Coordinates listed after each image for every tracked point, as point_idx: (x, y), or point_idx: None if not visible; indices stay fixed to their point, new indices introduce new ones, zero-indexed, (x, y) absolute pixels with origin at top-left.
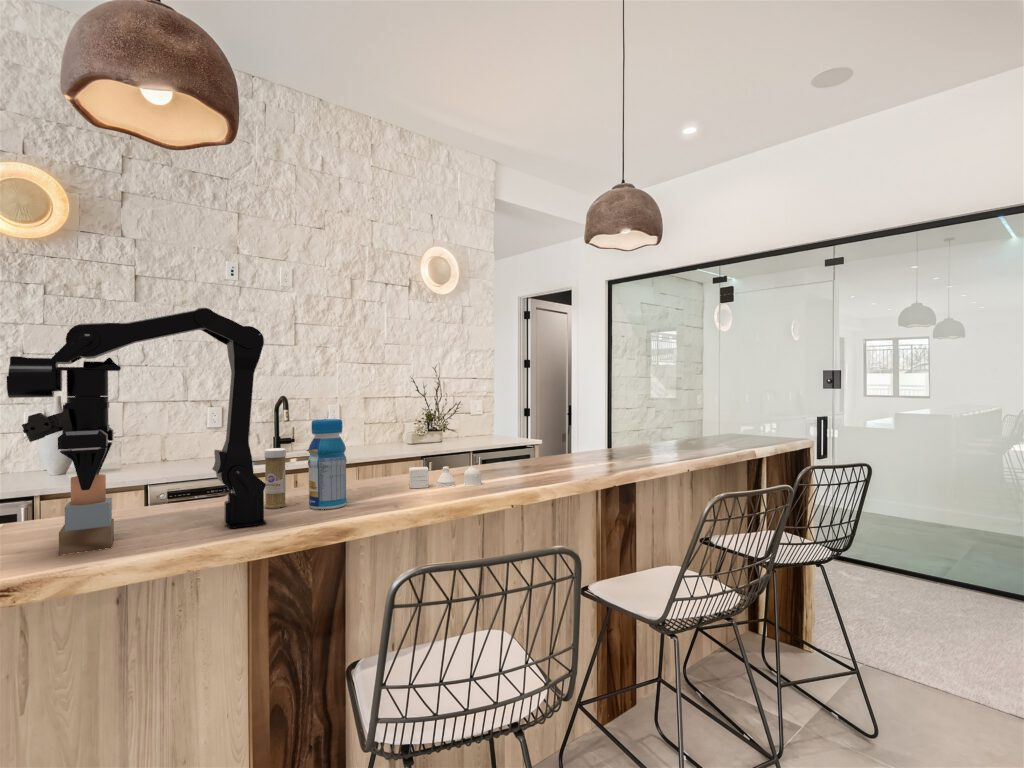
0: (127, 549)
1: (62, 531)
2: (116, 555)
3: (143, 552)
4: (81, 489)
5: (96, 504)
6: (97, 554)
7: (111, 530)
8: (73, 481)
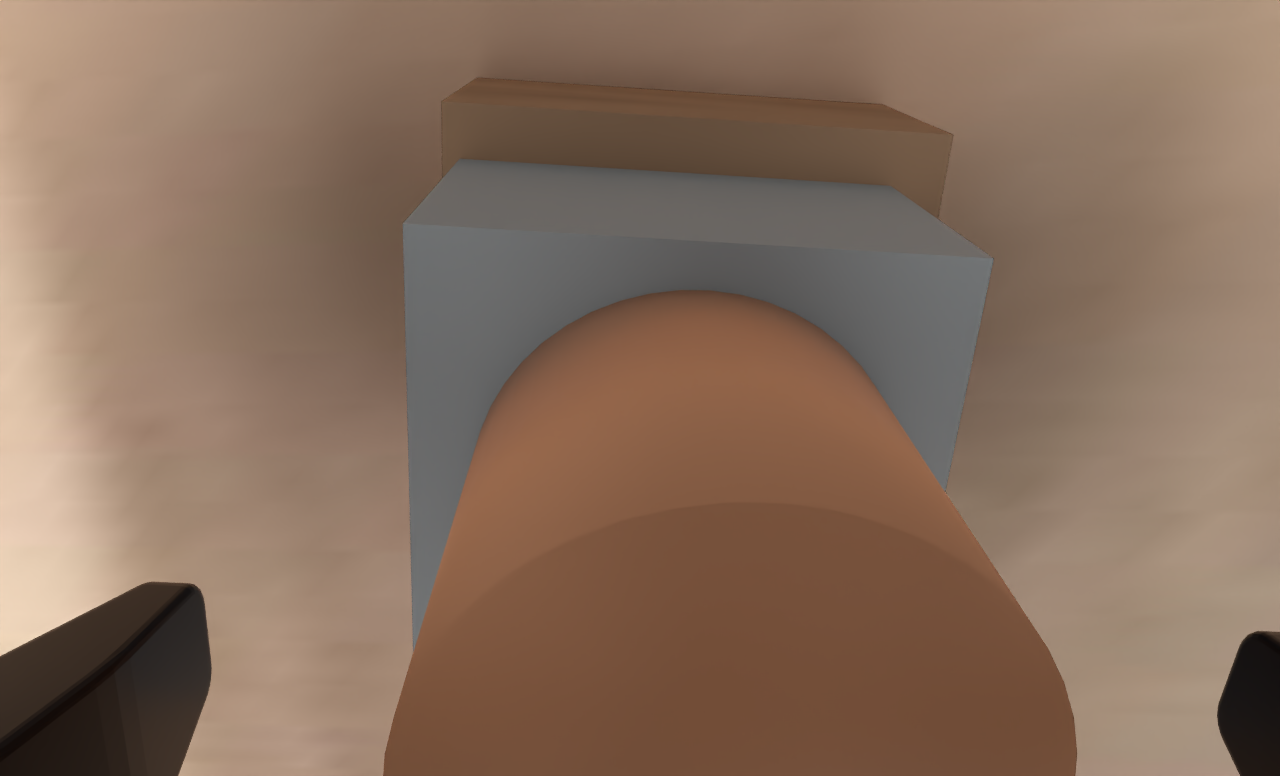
0: (343, 545)
1: (485, 135)
2: (177, 478)
3: None
4: (142, 584)
5: (414, 581)
6: (304, 359)
7: None
8: (533, 523)
